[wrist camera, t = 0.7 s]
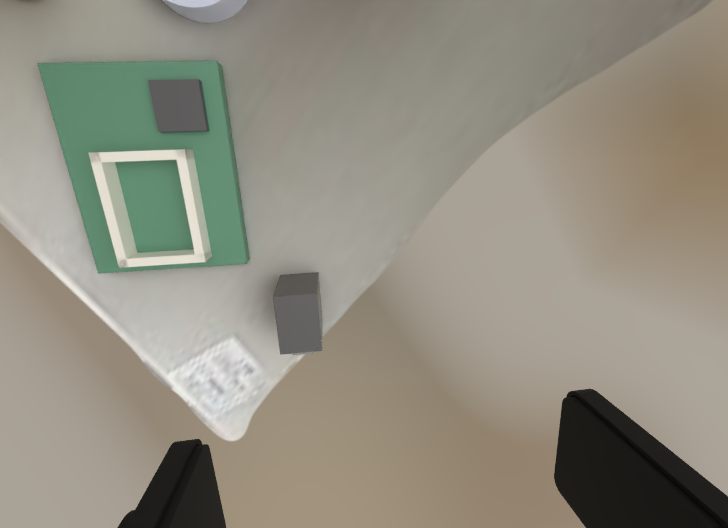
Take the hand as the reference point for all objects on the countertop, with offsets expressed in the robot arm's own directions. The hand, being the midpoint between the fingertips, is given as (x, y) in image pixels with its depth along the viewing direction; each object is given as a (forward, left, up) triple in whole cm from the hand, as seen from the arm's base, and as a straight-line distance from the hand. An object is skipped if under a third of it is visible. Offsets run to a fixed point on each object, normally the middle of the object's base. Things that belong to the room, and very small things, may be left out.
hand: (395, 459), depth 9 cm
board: (-6, -17, -29) cm, 34 cm away
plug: (+8, -5, -29) cm, 30 cm away
